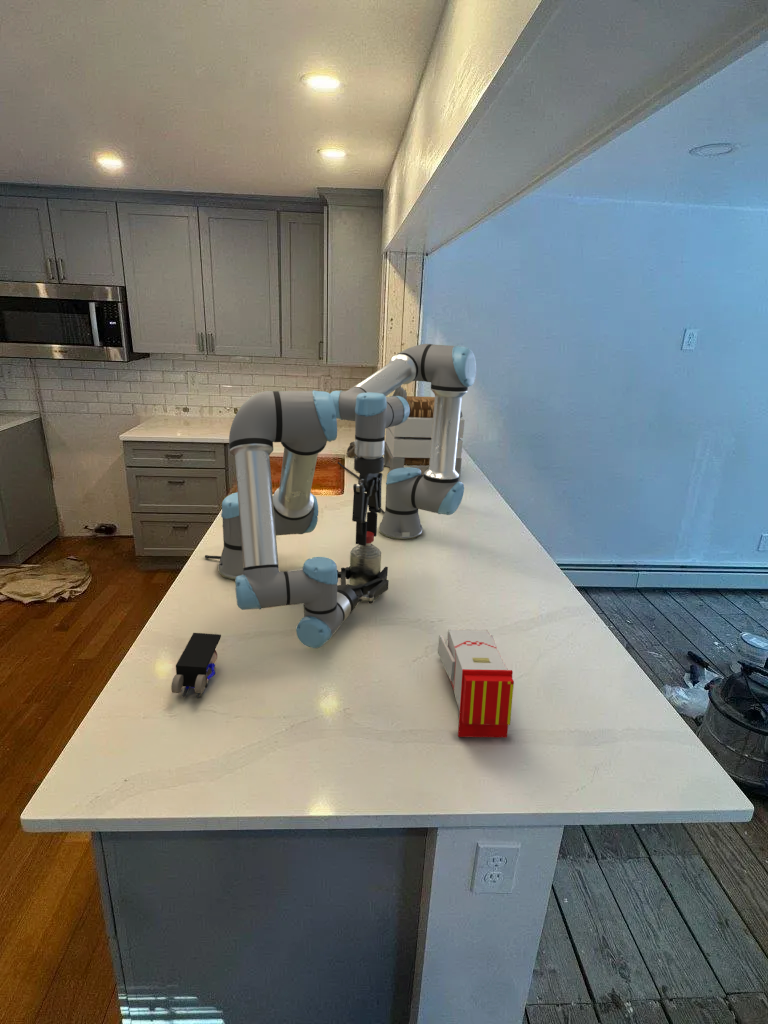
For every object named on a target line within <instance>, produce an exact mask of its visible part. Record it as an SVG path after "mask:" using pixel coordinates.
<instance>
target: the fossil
mask: <svg viewBox="0 0 768 1024" xmlns="http://www.w3.org/2000/svg"><path fill="white" fill-rule="evenodd" d="M346 456H347V457H348V458H352V457H355V456H356V454H355V444H354V441H351V442H350V443H349V446H348V447H347V450H346Z"/></svg>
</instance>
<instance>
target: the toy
mask: <svg viewBox="0 0 768 1024" xmlns="http://www.w3.org/2000/svg"><path fill="white" fill-rule="evenodd" d="M446 640H447V643H446V641H445V639H444V636H443V635H442V634H439V637H438V646H437V656H438V657H439V659H440V661H441V663H442V666H443V668H444V670H445V672H446V674H447V677H448V679H449V681H450V684H451V687H452V690H453V693H454V697H455V701H456V705H457V708H458V711H459V714H458V715H459V716H458V730H457V731H458V732H457V737H458V738H508V731H509V726H510V725H511V717H512V707H513V697H514V696H513V695H514V684H515V680H514V679H513V673H514V671H513V670H512V669H508V667H507V665H506V662H505V661H504V659H503V658H502V655H501V653H500V651H499V649H498V647H497V643H496V639H495V637H494V635H493V634H491V632H490V631H489V629H467V628H466V629H465V628H463V629H461V628H460V629H459V628H448V630H447V639H446Z"/></svg>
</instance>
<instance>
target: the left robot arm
mask: <svg viewBox="0 0 768 1024" xmlns="http://www.w3.org/2000/svg"><path fill="white" fill-rule="evenodd" d="M337 420H338V419H337V418H336V411H335V406H334V401H333V398H332V396H331V395H330V392H328V391H325V390H324V391H321V390H316V389H313V390H264V391H259V392H256V393H255V394H253V395H251V396H250V397H249V398H247V399H246V400H245V401H244V402H243V403H242V404H241V406H240V407H239V408H238V411H237V412H236V414H235V415H234V417H233V420H232V423H231V425H230V429H229V436H228V444H229V445H228V448H229V453H230V455H232V456H233V457H234V465H235V476H236V477H235V478H236V488H237V492H233V493H231V494H229V495H227V496H225V498H224V499H223V500H222V502H221V513H220V514H221V516H220V517H221V518H222V541H223V548H222V551H221V554H220V555H207V554H205V555H204V558H205V559H210V560H219V562H218V573H219V574H220V576H221V577H223V578H225V579H228V580H232V581H234V583H235V598H236V600H235V601H236V605H237V607H238V608H239V610H242V611H245V610H246V611H248V610H262V609H268V608H276V607H277V608H278V607H282V606H283V607H286V606H295V605H303V616H302V618H301V619H300V620H299V622H298V623H297V625H296V627H295V633H296V637H297V639H298V640H299V642H300V643H301V644H302V645H303V646H305V647H307V648H310V649H319V648H321V647H323V646H324V645H325V644H326V643H327V642H329V640H331V638H332V637H333V635H334V634H335V633H336V632H337V631H338V629H339V628H340V627H341V626H342V624H343V623H344V622H345V621H346V619H348V617H349V616H350V615H351V614H352V613H353V611H355V609H356V608H357V606H358V604H359V603H362V602H361V601H362V600H367V601H368V602H367V603H368V604H369V605H372V604H374V603H375V602H374V600H375V599H376V598H377V597H380V596H381V595H383V594H384V593H386V592H387V591H388V590H389V585H390V583H389V579H388V576H389V575H388V573H389V566H384V568H383V569H382V570H380V573H379V575H378V576H377V579H375V580H373V581H370V582H368V583H365V584H359V585H356V586H353V585H350V583H347V580H350V565H349V566H346V567H341V568H340V571H339V569H338V566H337V563H336V561H334V560H333V559H331V558H329V557H325V556H314V557H312V558H308V559H306V560H305V561H304V562H303V566H302V569H293V570H284V571H283V570H282V571H281V570H280V567H279V555H278V545H277V536H287V535H289V536H290V535H304V534H310V533H312V532H313V531H314V530H315V529H316V528H317V525H318V516H319V504H318V499H317V497H316V496H315V495H314V494H313V493H312V486H313V482H314V478H315V477H314V476H315V471H316V466H317V460H318V457H319V454H320V453H321V452H323V450H324V449H325V448H326V446H327V442H329V443H330V442H333V441H336V440H337V438H338V421H337ZM274 443H280V444H281V445H282V447H283V456H282V463H281V472H280V478H279V479H280V480H279V487H278V488H276V490H274V493H273V483H272V472H271V471H272V470H271V460H270V459H271V458H270V455H272V453H273V452H274ZM339 579H340V584H339ZM376 600H377V599H376ZM376 600H375V601H376Z"/></svg>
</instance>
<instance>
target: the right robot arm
mask: <svg viewBox="0 0 768 1024" xmlns="http://www.w3.org/2000/svg"><path fill="white" fill-rule="evenodd" d="M476 377H477V362H476V356H475V354H474V352H473V350H472V349H471V348H469V347H467V346H461V345H449V344H447V345H446V344H432V343H421V344H416V345H413V346H411V347H408V348H406V349H404V350H402V351H399V352H398V353H396V354H395V355H393V356H392V357H391V358H390V359H389V361H388V363H386V364H385V365H384V366H383V367H381V368H379V369H378V370H377V371H375V372H373V373H372V374H370V375H369V376H367V377H365V378H364V379H363V380H361V381H360V382H359V383H357V384H355V385H353V386H352V387H350V388H349V389H348V390H346V391H343V390H333V391H331V392H329V394H330V395H331V396H332V398H333V401H334V406H335V411H336V419H337V420H341V421H350V422H354V425H355V426H354V433H355V434H354V440H353V442H354V444H355V454H356V455H355V456H353V457H354V458H353V469H354V471H355V472H357V473H358V474H359V475H357V474H356V473H355V472H353V471H351V470H350V469H348V468H347V467H346V466H344V465H343V464H342V463H341V462H339V461H337V464H338V465H339V466H340V467H342V469H344V470H346V471H347V472H348V473H350V474H351V475H353V476H354V477H355V478H357V479H358V481H357V483H354V484H353V486H352V488H353V500H352V514H351V515H352V518H351V521H352V522H355V545H363V546H366V539H367V531H369V532H372V533H374V538H376V537H377V535H378V533H379V534H380V535H381V536H382V537H385V538H387V539H389V540H395V541H410V540H415V539H418V538H420V537H421V536H422V535H423V525H422V524H421V518H420V515H419V510H421V511H426V512H429V513H435V514H438V515H445V516H451V515H453V514H454V513H456V511H457V510H458V509H459V507H460V505H461V502H462V500H463V497H464V493H465V485H464V483H463V482H462V481H460V482H459V474H458V473H457V472H456V471H455V464H456V454H457V444H458V433H459V423H460V413H461V412H462V403H463V402H462V401H463V396H464V395H466V394H467V393H468V389H469V388H470V387H472V386H474V383H475V382H476ZM412 382H426V383H430V390H431V392H432V393H433V394H434V397H435V400H434V413H433V425H432V437H431V449H430V461H429V465H428V468H427V469H426V470H424V471H423V474H422V470H421V468H419V467H414V466H411V467H409V466H406V467H405V466H404V468H397V469H393V470H391V471H390V470H389V471H388V473H387V475H386V480H385V504H384V505H385V507H384V508H385V509H384V510H383V509H382V481H383V473H382V472H383V471H384V467H385V466H384V450H385V442H386V441H385V438H386V428H389V427H392V426H397V425H399V424H401V423H403V422H404V421H406V420H407V418H408V417H409V414H410V407H409V404H408V402H407V401H406V400H405V399H404V398H403V397H401V396H393V395H391V396H389V395H390V394H391V393H394V392H395V390H396V389H397V388H398V387H400V386H401V387H402V385H409V384H411V383H412ZM381 513H382V514H383V515H382V519H381V522H379V527H378V514H381ZM377 530H378V533H377Z"/></svg>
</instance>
